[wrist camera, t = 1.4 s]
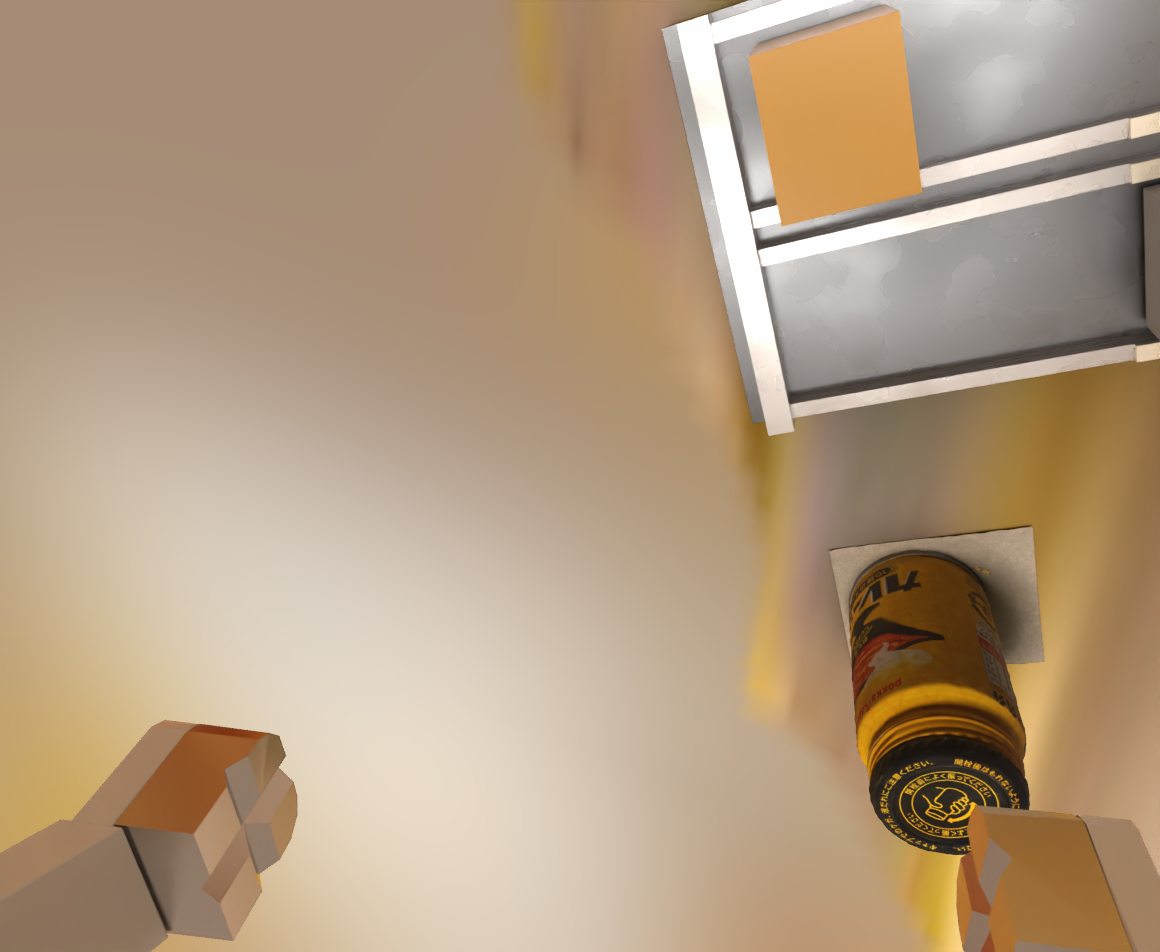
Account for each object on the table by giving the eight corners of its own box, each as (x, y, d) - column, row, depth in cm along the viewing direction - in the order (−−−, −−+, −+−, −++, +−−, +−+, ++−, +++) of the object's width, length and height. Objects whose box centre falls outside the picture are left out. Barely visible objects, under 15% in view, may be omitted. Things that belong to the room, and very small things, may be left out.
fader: (884, 4, 28) (899, 11, 23) (905, 158, 30) (922, 192, 25) (757, 43, 29) (748, 57, 25) (785, 188, 31) (781, 226, 27)
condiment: (828, 548, 41) (835, 741, 31) (1031, 524, 38) (1113, 727, 28) (853, 671, 44) (866, 883, 34) (1043, 657, 41) (1119, 883, 31)
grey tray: (1440, -227, 25) (1523, -253, 22) (1388, 290, 31) (1448, 323, 28) (669, 25, 32) (655, 31, 29) (755, 402, 38) (751, 438, 35)
